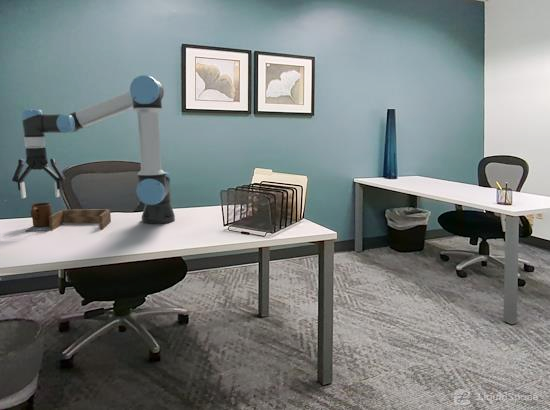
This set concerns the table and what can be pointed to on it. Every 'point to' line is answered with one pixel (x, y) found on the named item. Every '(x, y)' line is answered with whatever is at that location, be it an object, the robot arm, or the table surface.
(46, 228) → the mat
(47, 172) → the robot arm
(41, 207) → the mug
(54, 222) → the brown wooden u-shaped piece
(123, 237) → the table surface
